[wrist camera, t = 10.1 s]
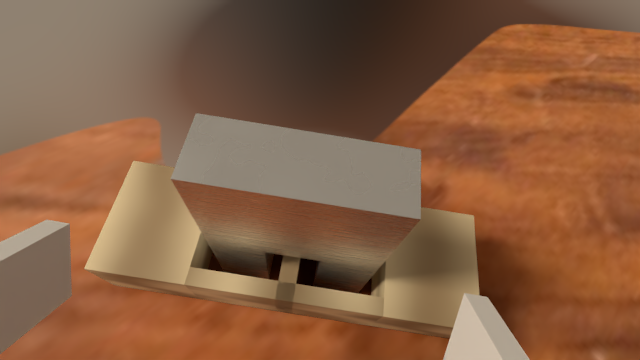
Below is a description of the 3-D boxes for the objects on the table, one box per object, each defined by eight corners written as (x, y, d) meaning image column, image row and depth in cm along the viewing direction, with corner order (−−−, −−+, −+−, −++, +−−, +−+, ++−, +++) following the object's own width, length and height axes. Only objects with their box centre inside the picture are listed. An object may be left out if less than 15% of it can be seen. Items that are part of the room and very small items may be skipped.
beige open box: (449, 236, 27) (473, 215, 23) (452, 339, 23) (482, 332, 20) (153, 189, 27) (133, 160, 23) (114, 285, 23) (84, 268, 20)
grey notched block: (361, 250, 26) (421, 149, 14) (357, 293, 24) (420, 219, 13) (235, 230, 26) (196, 113, 14) (224, 272, 24) (170, 179, 13)
